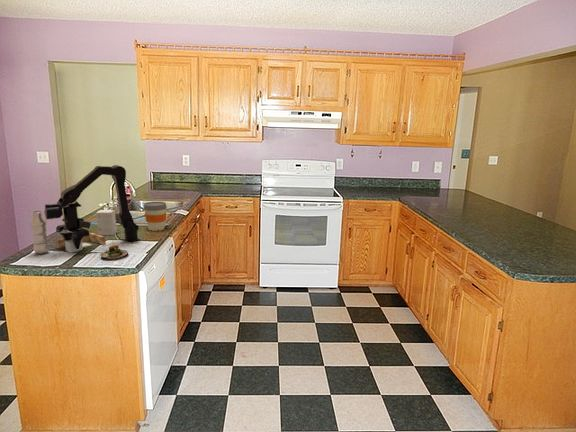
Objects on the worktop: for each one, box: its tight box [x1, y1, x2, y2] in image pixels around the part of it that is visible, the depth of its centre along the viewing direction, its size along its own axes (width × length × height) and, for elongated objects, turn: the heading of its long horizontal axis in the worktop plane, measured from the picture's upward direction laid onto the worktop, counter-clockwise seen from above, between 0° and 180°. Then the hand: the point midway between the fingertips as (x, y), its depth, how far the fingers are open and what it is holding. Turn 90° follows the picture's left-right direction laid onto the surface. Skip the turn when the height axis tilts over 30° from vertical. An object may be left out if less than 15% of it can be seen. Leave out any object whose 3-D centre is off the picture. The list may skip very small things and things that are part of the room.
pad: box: [82, 242, 92, 248], centre depth 200 cm, size 6×6×1 cm
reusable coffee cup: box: [143, 201, 167, 232], centre depth 231 cm, size 13×13×15 cm
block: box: [65, 240, 84, 253], centre depth 192 cm, size 4×6×5 cm, turn 147°
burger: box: [100, 240, 129, 260], centre depth 184 cm, size 12×12×8 cm
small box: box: [95, 209, 118, 236], centre depth 219 cm, size 8×6×13 cm
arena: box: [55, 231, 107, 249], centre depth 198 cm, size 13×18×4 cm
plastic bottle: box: [29, 210, 50, 255], centre depth 185 cm, size 6×7×20 cm
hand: (74, 247), depth 192 cm, fingers open, 6 cm apart
